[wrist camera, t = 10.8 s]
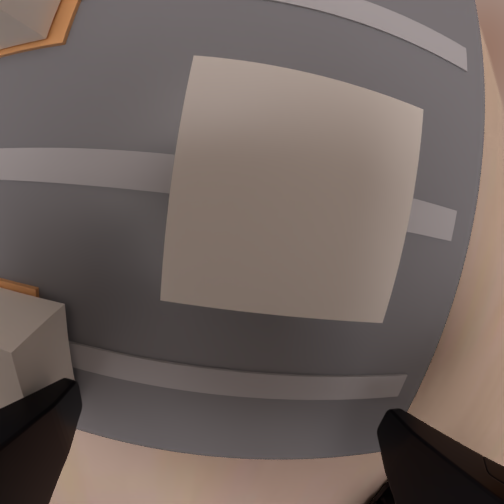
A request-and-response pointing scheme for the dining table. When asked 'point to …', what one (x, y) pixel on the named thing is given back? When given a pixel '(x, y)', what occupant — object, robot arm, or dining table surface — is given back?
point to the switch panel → (156, 207)
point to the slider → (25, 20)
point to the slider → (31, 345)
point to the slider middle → (288, 193)
